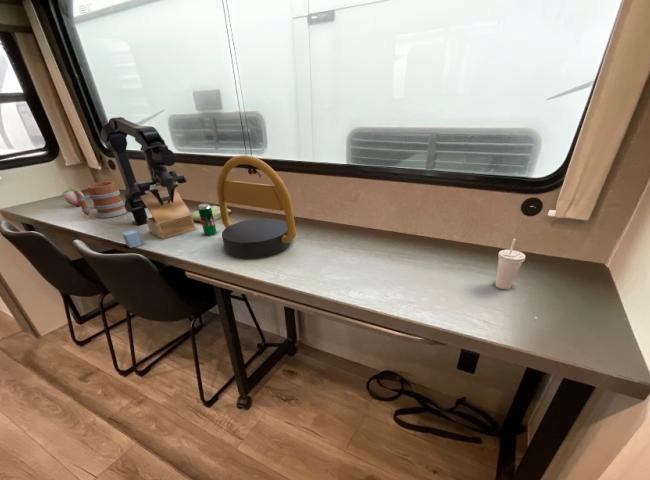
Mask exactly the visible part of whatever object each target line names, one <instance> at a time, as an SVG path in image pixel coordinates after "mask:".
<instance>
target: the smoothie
mask: <svg viewBox="0 0 650 480" xmlns="http://www.w3.org/2000/svg"><path fill="white" fill-rule="evenodd" d="M515 243H516V238H513V239H512V242H511V246H510V249H502V250H500V251H499V252H498V253H497V254H498V255H497V258H498V261H497V270H496V279H495V287H496V288H498V289H501V290H509V289H511V287H512V285H513V283H514V280H515V279H516V276H517V274H518V272H519V270H520V268H521V266H522V264H523V263H524V262H525V260H526V254H525V253H523V252H521V251H520V250H514V247H515Z"/></svg>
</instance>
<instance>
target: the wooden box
mask: <svg viewBox="0 0 650 480" xmlns="http://www.w3.org/2000/svg"><path fill="white" fill-rule="evenodd" d="M146 220H147V223H146V224H147V226H148V229H149V232H150V233H152V234H153V235H155V236H157V237H158V238H160V239H162V240H165V239H168V238H171V237H174V236H178V235H182V234H185V233H189V232H191V231H194V230H196V225H195V221H194V220H193V217H192V216H189V217H186V218H182V219H179V220H175V221H171V222H168V223H164V224H161V225H158V224H157V223H156V221H155V220H154V218H153V216H151V217H148V218H147V219H146Z"/></svg>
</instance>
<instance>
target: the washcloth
mask: <svg viewBox="0 0 650 480" xmlns="http://www.w3.org/2000/svg"><path fill="white" fill-rule="evenodd" d="M210 206H211V209H212V214H213V218H214V221H215V220H218V219H221V212H220V207H219V205H218V206H217V205H210ZM227 211H228V214H230V213H231V212H232V210H231V209H229V208H227ZM191 214H192V217H193V221H194V222H200V223H201V219H200V215H199V211H198V210H196V211H193V212H191Z"/></svg>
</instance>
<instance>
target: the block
mask: <svg viewBox="0 0 650 480" xmlns="http://www.w3.org/2000/svg"><path fill="white" fill-rule="evenodd" d="M122 236H123V240H124V241H125V244H126V246H127V247H128V248H130V249H132V248H136V247H139V246H142V245H143V243H142V240H141V238H140V234H139V232H138V231H136V230H135V229H132V230H128V231H124V232H122Z"/></svg>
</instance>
